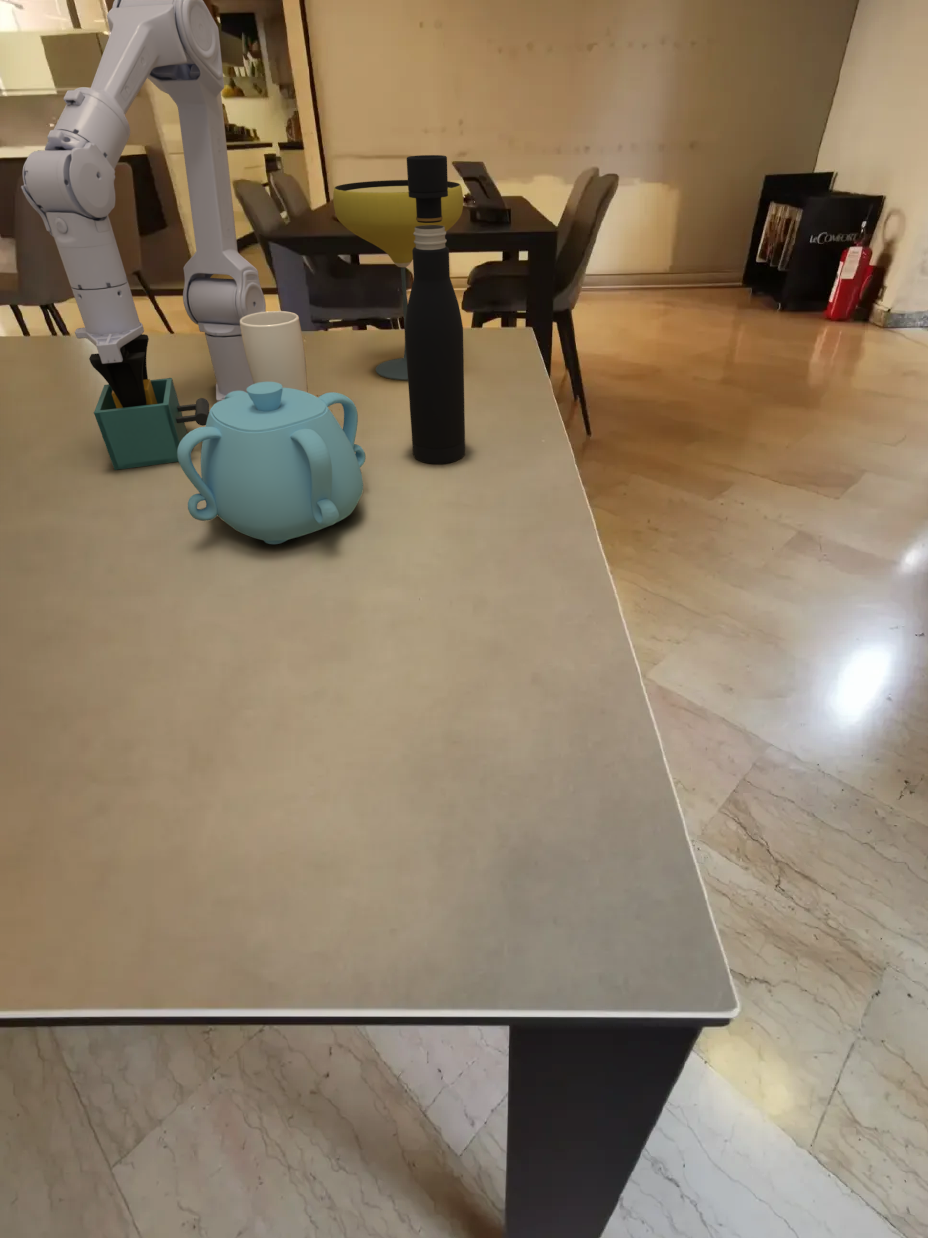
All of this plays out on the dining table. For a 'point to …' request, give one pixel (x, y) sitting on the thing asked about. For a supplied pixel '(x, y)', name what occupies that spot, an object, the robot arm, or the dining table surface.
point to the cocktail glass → (390, 230)
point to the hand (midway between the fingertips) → (139, 407)
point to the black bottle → (433, 325)
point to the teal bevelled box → (146, 426)
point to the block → (148, 392)
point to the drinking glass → (275, 348)
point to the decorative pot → (275, 462)
